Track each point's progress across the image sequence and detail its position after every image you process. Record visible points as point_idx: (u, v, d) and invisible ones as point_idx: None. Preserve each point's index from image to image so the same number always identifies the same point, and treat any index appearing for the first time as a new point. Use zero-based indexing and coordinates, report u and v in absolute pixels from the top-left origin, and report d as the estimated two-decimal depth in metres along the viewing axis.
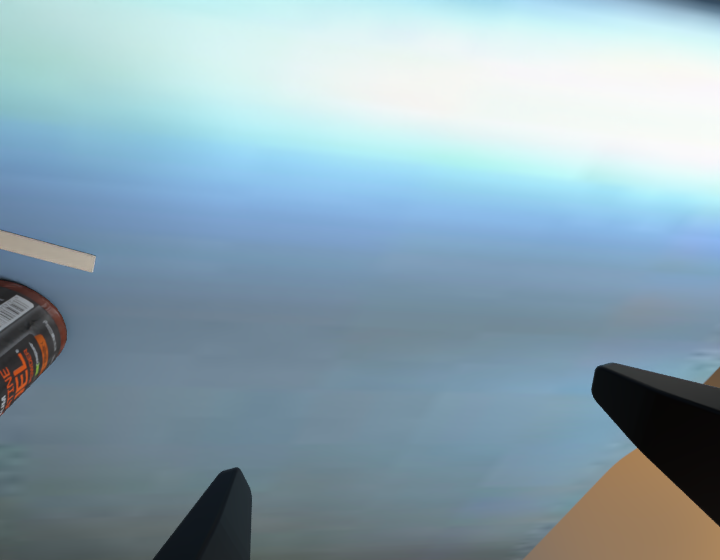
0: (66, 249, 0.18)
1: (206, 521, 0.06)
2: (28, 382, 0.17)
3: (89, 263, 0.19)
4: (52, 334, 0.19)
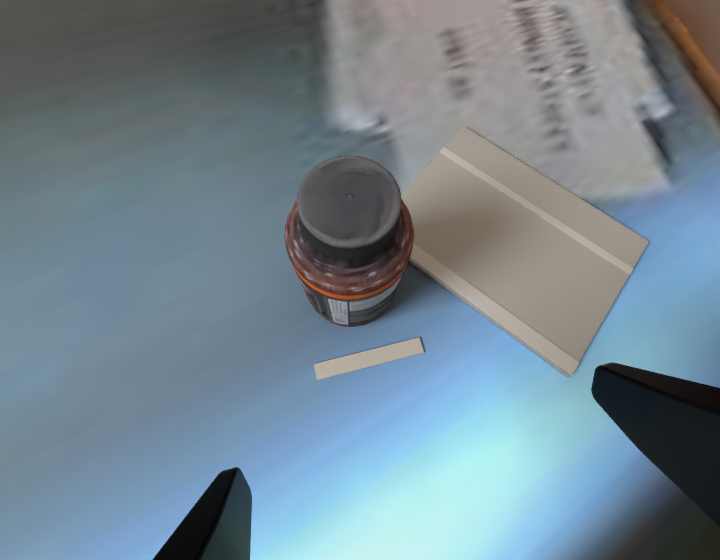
0: (337, 374, 0.22)
1: (206, 521, 0.06)
2: None
3: (318, 371, 0.22)
4: (312, 304, 0.21)
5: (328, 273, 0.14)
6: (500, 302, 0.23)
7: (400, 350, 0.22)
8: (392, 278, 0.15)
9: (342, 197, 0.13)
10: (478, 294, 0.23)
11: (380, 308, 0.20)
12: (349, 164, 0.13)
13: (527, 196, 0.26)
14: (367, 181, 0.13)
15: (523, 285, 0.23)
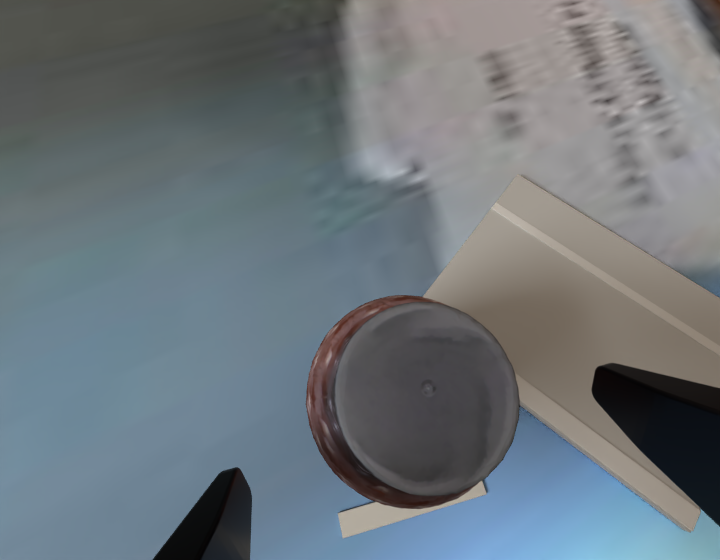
0: (371, 529, 0.16)
1: (206, 521, 0.06)
2: None
3: (344, 525, 0.16)
4: None
5: (380, 486, 0.09)
6: (585, 419, 0.17)
7: None
8: None
9: (415, 391, 0.07)
10: (555, 408, 0.17)
11: None
12: (423, 321, 0.08)
13: (607, 268, 0.20)
14: (457, 356, 0.07)
15: None
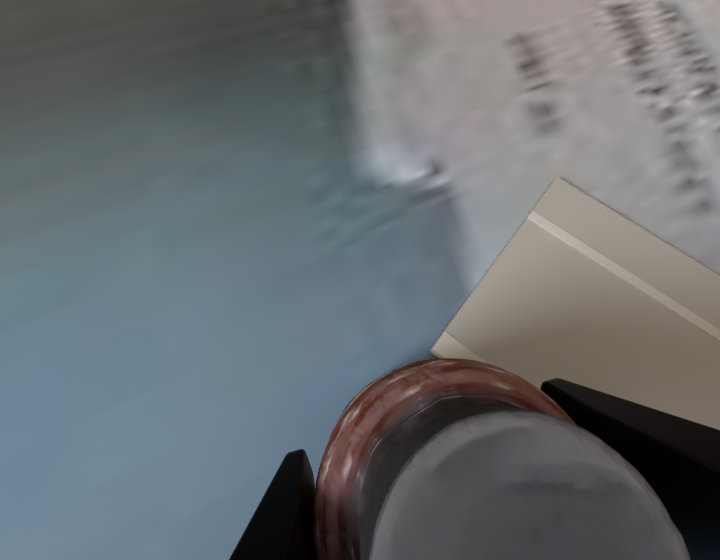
0: None
1: (288, 497, 0.06)
2: None
3: None
4: None
5: None
6: None
7: None
8: None
9: None
10: None
11: None
12: (520, 452, 0.04)
13: (668, 290, 0.17)
14: (586, 520, 0.04)
15: None
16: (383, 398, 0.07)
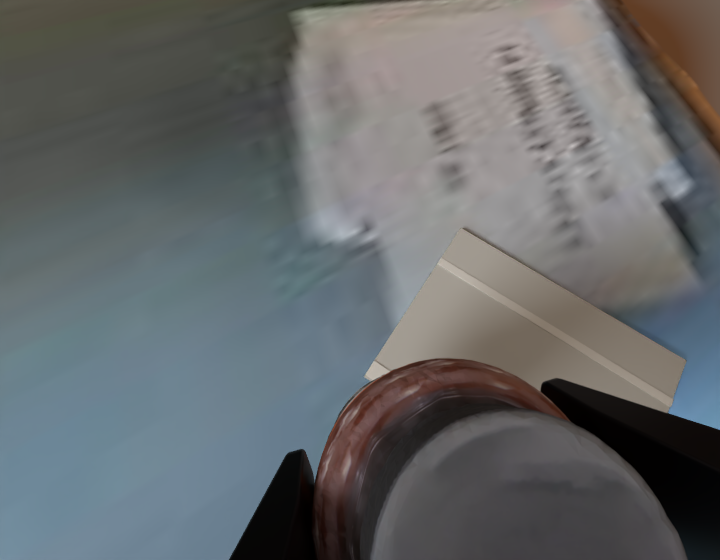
0: None
1: (288, 497, 0.06)
2: None
3: None
4: None
5: None
6: None
7: None
8: None
9: None
10: None
11: None
12: (520, 451, 0.04)
13: (543, 314, 0.22)
14: (584, 518, 0.04)
15: None
16: (382, 398, 0.07)
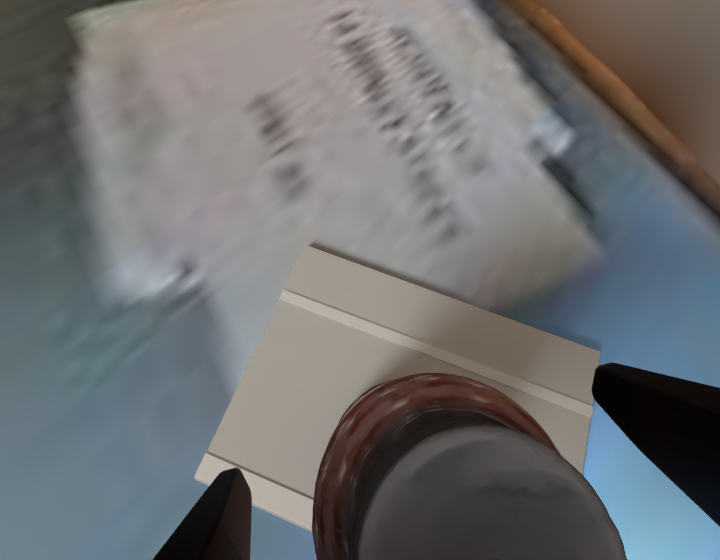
0: None
1: (206, 521, 0.06)
2: None
3: None
4: None
5: None
6: None
7: None
8: None
9: None
10: None
11: None
12: (485, 461, 0.05)
13: (420, 334, 0.17)
14: (537, 518, 0.05)
15: None
16: (374, 410, 0.08)
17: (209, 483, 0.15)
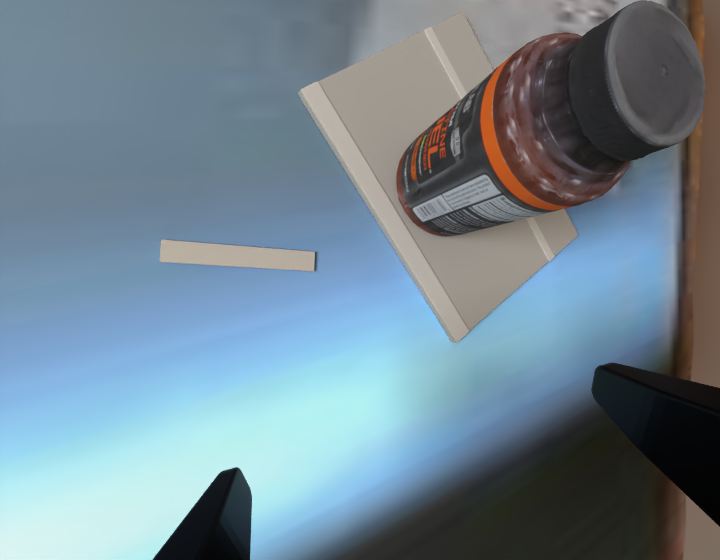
0: (192, 263, 0.16)
1: (206, 521, 0.06)
2: (432, 129, 0.16)
3: (164, 251, 0.16)
4: (405, 174, 0.17)
5: (540, 143, 0.11)
6: (420, 243, 0.19)
7: (285, 259, 0.17)
8: (574, 203, 0.12)
9: (657, 64, 0.09)
10: (400, 226, 0.19)
11: (478, 228, 0.17)
12: (681, 34, 0.10)
13: None
14: (686, 71, 0.10)
15: None
16: (579, 35, 0.12)
17: (309, 102, 0.18)
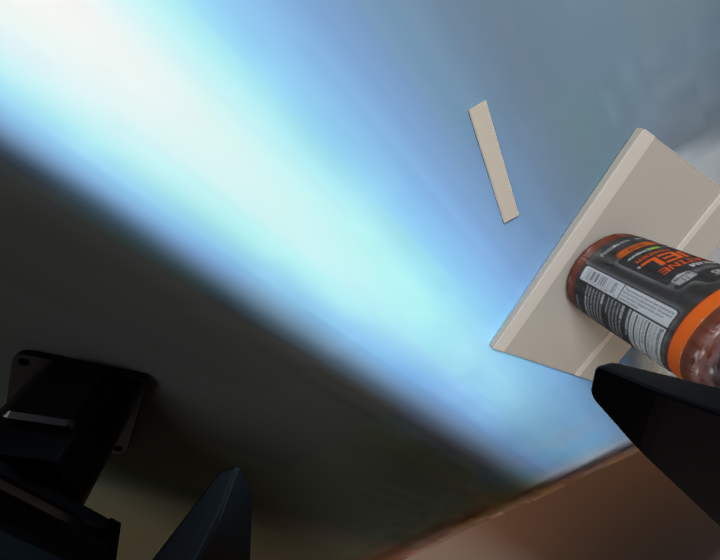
0: (476, 134, 0.18)
1: (206, 521, 0.06)
2: (669, 250, 0.19)
3: (477, 108, 0.18)
4: (613, 246, 0.21)
5: None
6: (554, 283, 0.23)
7: (505, 198, 0.20)
8: (686, 376, 0.17)
9: None
10: (562, 263, 0.23)
11: (602, 320, 0.21)
12: None
13: None
14: None
15: (569, 299, 0.24)
16: None
17: (636, 141, 0.20)
